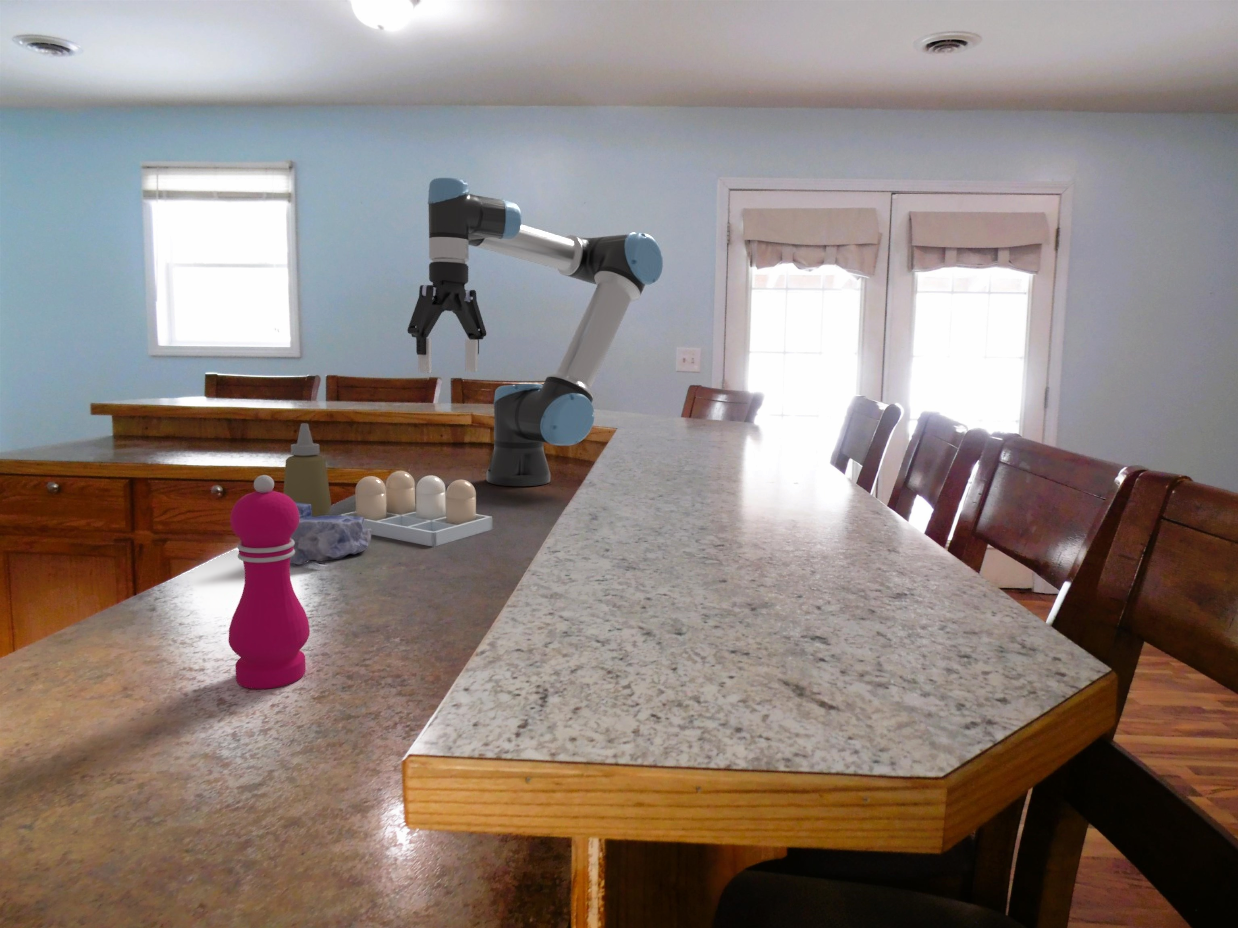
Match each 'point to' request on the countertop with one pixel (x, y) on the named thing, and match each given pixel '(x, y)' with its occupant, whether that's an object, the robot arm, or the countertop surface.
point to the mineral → (327, 536)
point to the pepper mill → (267, 591)
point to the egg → (430, 498)
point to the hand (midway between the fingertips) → (449, 372)
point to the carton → (424, 528)
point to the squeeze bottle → (307, 475)
